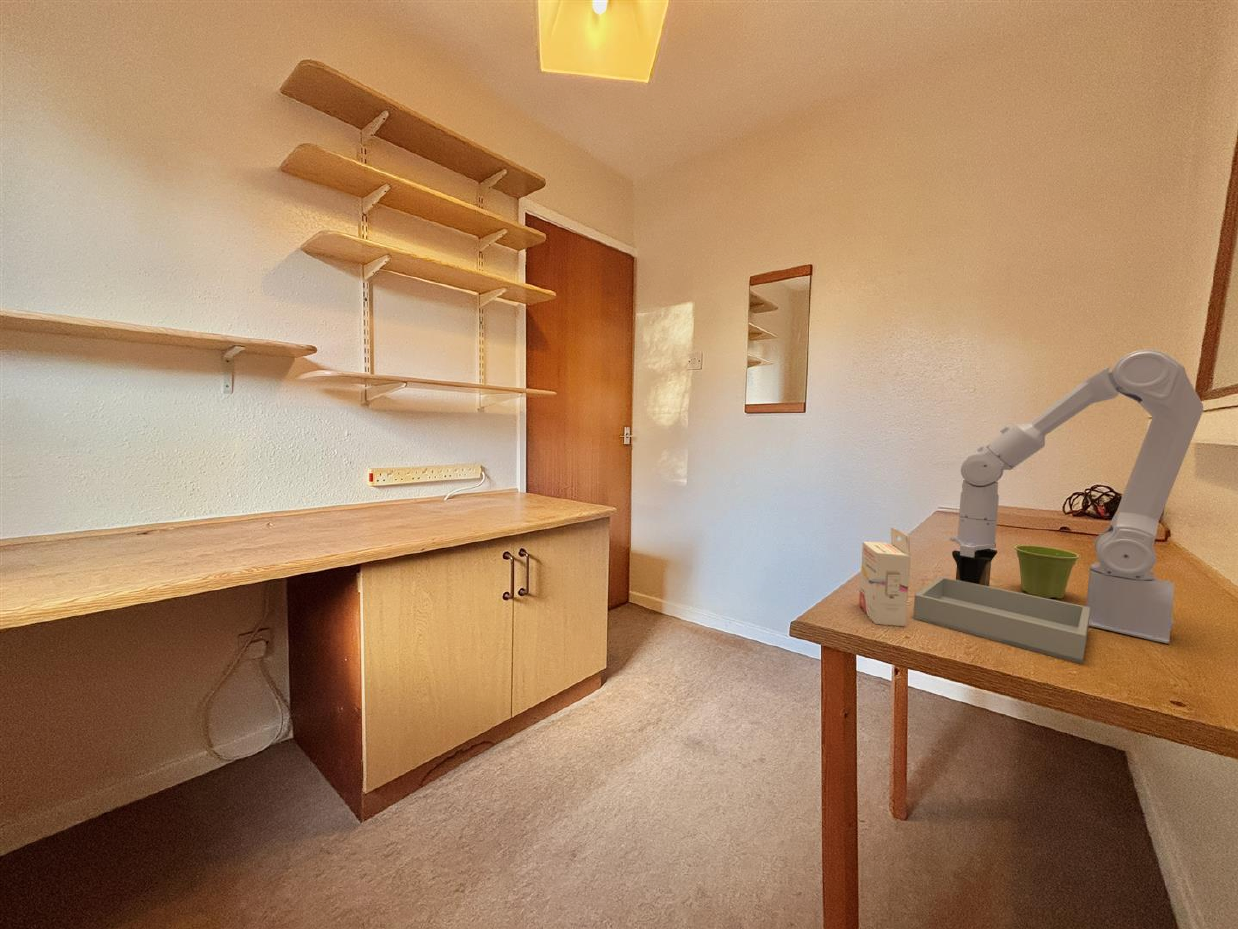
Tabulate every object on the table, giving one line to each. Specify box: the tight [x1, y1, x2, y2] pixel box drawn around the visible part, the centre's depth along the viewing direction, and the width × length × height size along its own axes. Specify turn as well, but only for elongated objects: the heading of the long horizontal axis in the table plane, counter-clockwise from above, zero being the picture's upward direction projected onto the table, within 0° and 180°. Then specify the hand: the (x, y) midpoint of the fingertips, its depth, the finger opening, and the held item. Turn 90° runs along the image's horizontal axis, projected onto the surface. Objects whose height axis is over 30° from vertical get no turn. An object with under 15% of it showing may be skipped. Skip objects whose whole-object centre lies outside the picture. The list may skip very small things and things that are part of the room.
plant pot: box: [1013, 544, 1081, 600], centre depth 91 cm, size 9×9×9 cm
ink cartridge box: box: [858, 526, 911, 627], centre depth 78 cm, size 9×5×15 cm, turn 168°
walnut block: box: [955, 561, 992, 587], centre depth 89 cm, size 4×4×7 cm
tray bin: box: [912, 576, 1090, 665], centre depth 75 cm, size 20×16×4 cm
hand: (972, 587), depth 89 cm, fingers closed on walnut block, 4 cm apart
